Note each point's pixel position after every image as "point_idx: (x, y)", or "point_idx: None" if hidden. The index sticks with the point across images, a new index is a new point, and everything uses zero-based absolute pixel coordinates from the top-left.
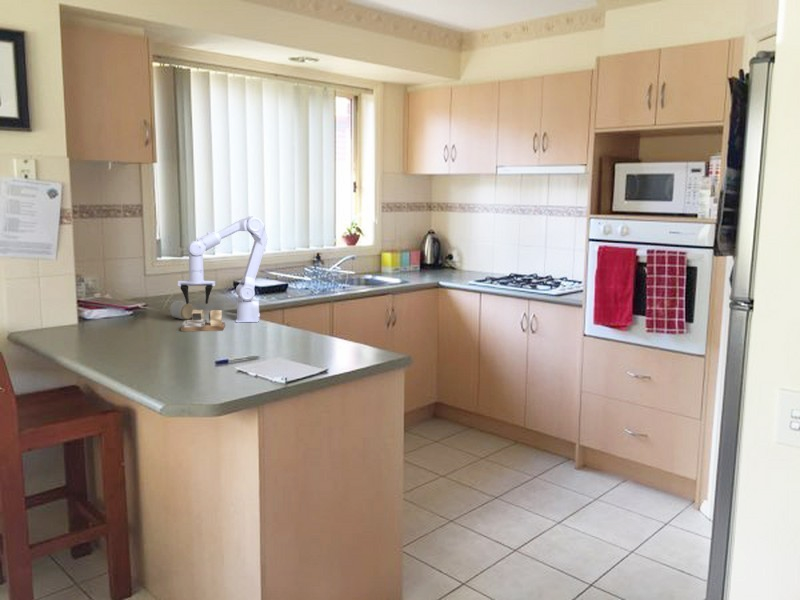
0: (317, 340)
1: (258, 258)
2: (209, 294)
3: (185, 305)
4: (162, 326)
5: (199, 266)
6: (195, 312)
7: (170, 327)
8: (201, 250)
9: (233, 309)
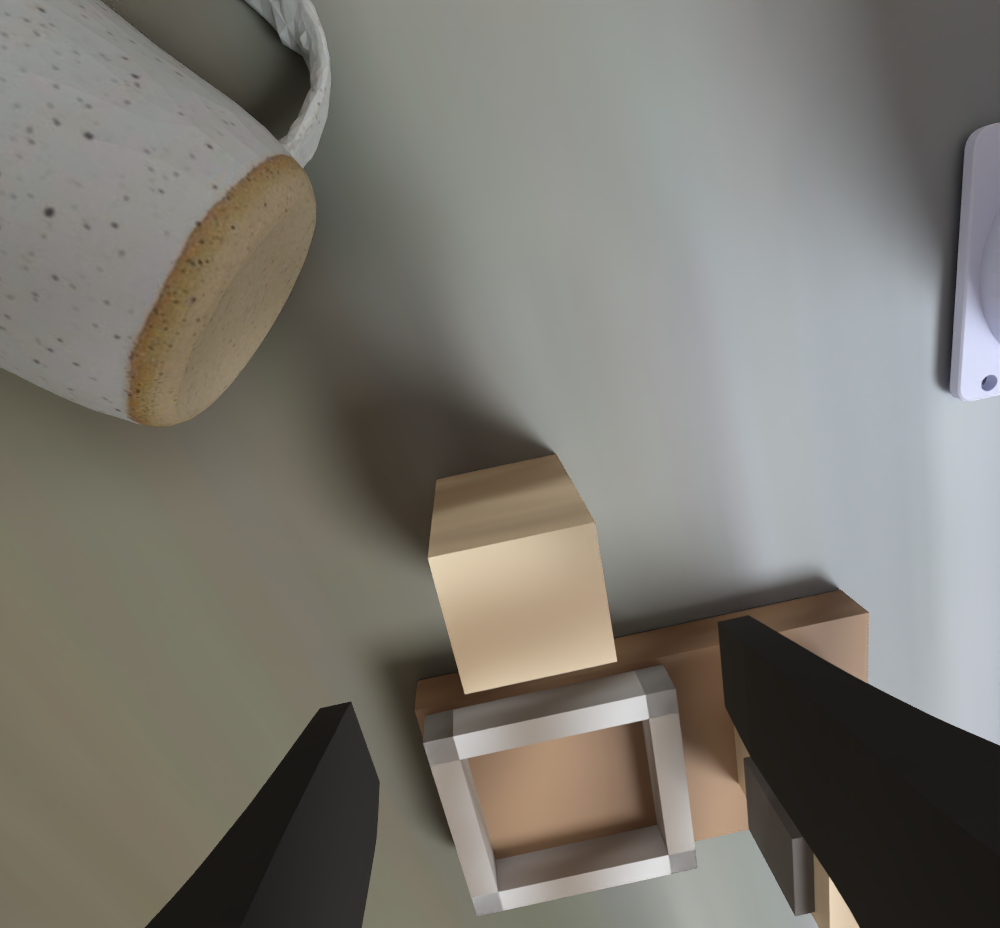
0: None
1: None
2: (940, 742)
3: (155, 377)
4: (177, 713)
5: None
6: (518, 672)
7: (290, 738)
8: None
9: None
